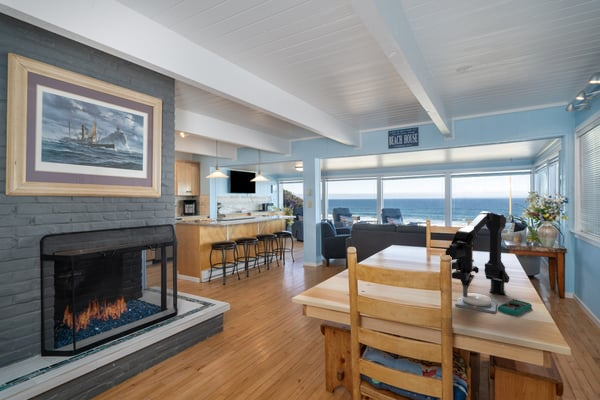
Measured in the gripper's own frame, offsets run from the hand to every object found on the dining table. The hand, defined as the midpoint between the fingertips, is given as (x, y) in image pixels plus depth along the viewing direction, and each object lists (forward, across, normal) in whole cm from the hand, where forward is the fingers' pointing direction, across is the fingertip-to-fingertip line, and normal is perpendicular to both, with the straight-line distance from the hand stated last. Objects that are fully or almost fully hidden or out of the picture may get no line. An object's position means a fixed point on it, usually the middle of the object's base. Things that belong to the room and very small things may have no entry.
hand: (465, 290), depth 136 cm
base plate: (+5, +1, +5) cm, 7 cm away
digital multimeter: (+6, -4, +18) cm, 20 cm away
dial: (+4, +1, +5) cm, 6 cm away
